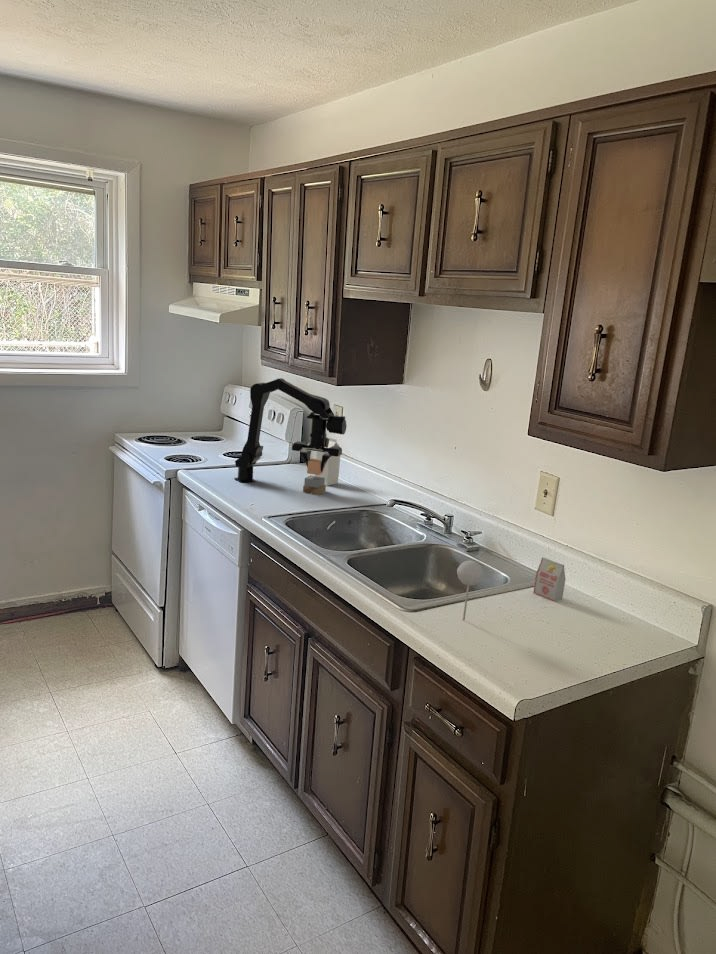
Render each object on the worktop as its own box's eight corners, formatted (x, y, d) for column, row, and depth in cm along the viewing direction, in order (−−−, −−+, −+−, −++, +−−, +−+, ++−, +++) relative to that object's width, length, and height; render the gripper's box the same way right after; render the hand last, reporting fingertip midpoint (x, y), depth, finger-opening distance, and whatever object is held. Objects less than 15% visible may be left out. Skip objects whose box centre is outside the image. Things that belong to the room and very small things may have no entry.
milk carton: (327, 486, 291) (330, 440, 287) (313, 482, 295) (317, 437, 291) (338, 483, 296) (341, 438, 292) (324, 480, 301) (328, 435, 296)
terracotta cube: (307, 473, 277) (308, 460, 276) (311, 470, 282) (312, 458, 281) (319, 475, 276) (320, 462, 275) (323, 472, 281) (324, 460, 279)
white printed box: (541, 590, 197) (546, 556, 194) (562, 599, 192) (567, 564, 190) (533, 593, 194) (538, 558, 192) (554, 602, 189) (559, 566, 187)
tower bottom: (302, 493, 278) (303, 485, 277) (308, 489, 284) (309, 482, 284) (319, 496, 276) (320, 488, 276) (325, 492, 283) (325, 484, 282)
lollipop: (474, 615, 176) (481, 558, 172) (478, 626, 170) (486, 566, 166) (449, 614, 175) (456, 556, 172) (452, 624, 169) (460, 564, 166)
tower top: (304, 485, 278) (304, 478, 277) (310, 482, 283) (310, 475, 283) (318, 488, 276) (319, 480, 275) (324, 485, 281) (324, 477, 281)
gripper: (347, 431, 281) (343, 470, 284) (302, 425, 285) (299, 463, 288) (339, 435, 270) (336, 475, 273) (292, 429, 274) (290, 468, 278)
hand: (315, 470), depth 278 cm, fingers closed on terracotta cube, 5 cm apart
